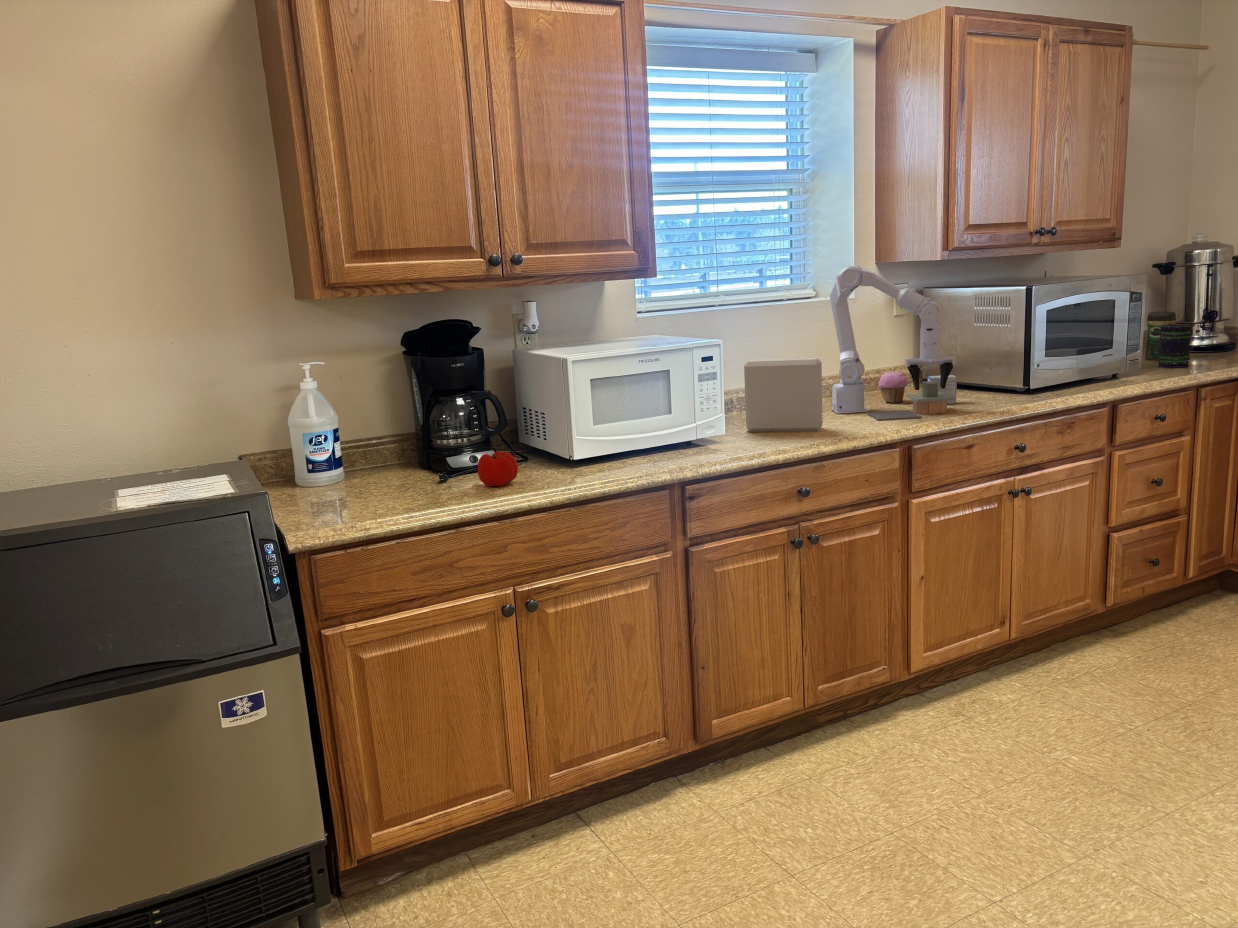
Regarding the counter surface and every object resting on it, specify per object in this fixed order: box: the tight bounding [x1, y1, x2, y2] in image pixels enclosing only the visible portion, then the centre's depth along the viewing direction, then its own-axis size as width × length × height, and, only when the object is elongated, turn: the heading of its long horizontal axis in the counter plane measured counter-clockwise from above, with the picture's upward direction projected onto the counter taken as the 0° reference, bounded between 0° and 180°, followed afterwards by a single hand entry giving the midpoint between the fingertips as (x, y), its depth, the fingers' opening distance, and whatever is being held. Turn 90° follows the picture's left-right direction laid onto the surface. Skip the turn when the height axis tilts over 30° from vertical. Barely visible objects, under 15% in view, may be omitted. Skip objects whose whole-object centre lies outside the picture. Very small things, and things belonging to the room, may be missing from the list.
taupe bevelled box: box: [743, 357, 824, 433], centre depth 254 cm, size 21×8×20 cm, turn 73°
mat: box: [866, 409, 922, 422], centre depth 266 cm, size 12×12×1 cm
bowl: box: [912, 400, 948, 415], centre depth 270 cm, size 9×9×4 cm
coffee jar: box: [1144, 310, 1177, 361], centre depth 349 cm, size 10×8×19 cm
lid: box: [905, 380, 955, 402], centre depth 269 cm, size 11×11×5 cm
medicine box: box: [927, 374, 958, 405], centre depth 282 cm, size 8×4×9 cm, turn 84°
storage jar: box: [1157, 324, 1192, 369], centre depth 327 cm, size 10×10×15 cm
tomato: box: [477, 450, 519, 487], centre depth 211 cm, size 9×9×8 cm
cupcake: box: [878, 371, 909, 404], centre depth 290 cm, size 9×9×10 cm
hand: (929, 389), depth 269 cm, fingers open, 7 cm apart
